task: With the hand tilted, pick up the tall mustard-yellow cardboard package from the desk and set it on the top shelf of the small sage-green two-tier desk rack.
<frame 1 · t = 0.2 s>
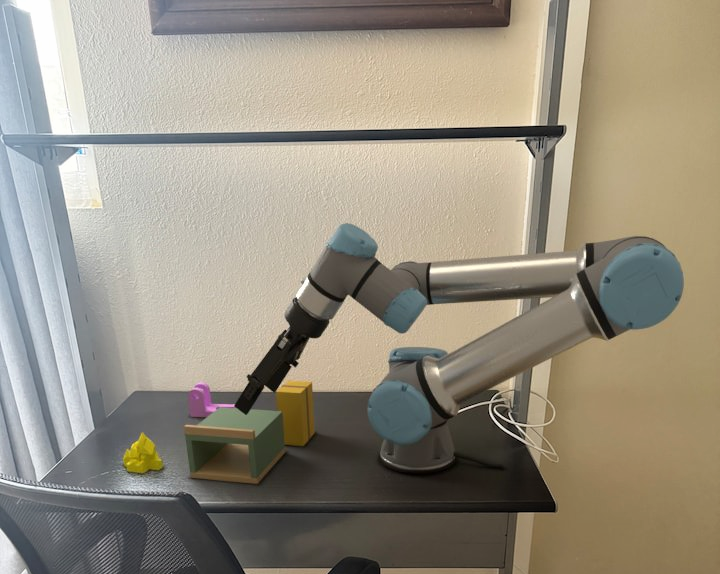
hand: (255, 398, 132), 15 cm above the table, tool tilted 35°, fingers open, 13 cm apart
desk rack: (239, 464, 143), on the table
bracket: (220, 414, 171), on the table
package: (297, 438, 155), on the table
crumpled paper: (143, 467, 143), on the table
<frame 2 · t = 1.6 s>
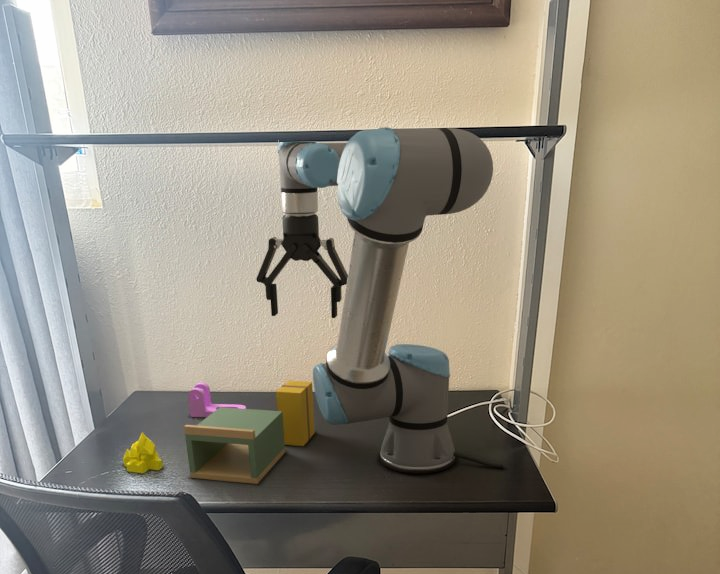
hand: (304, 315, 155), 25 cm above the table, tool pointing down, fingers open, 13 cm apart
nothing on the table moved.
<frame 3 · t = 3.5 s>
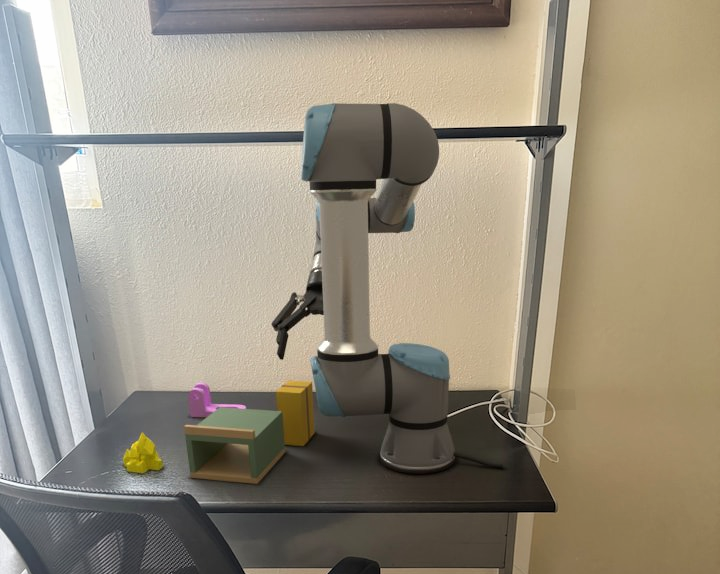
hand: (308, 358, 158), 15 cm above the table, tool tilted 45°, fingers open, 13 cm apart
nothing on the table moved.
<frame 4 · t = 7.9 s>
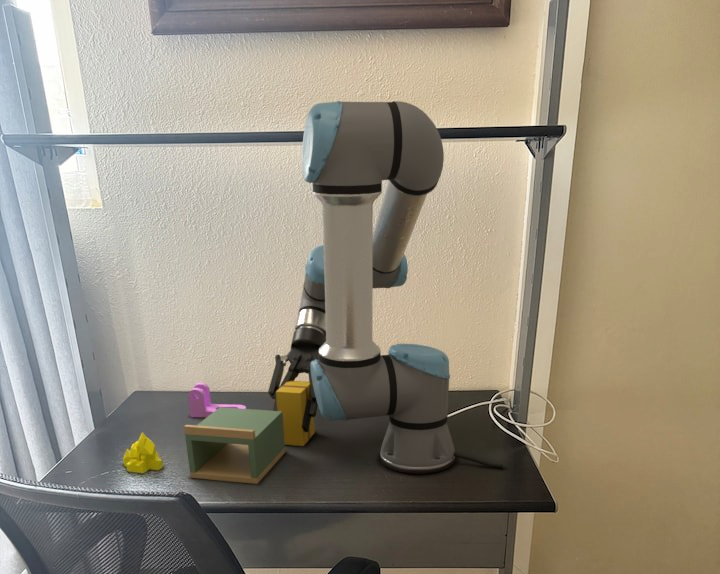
hand: (291, 428, 151), 4 cm above the table, tool tilted 45°, fingers closed on package, 6 cm apart
package: (297, 438, 155), on the table, touching gripper
everything else where it was.
when the fingers open (13 cm above the table, at t = 14.8 s): package stays where it is, resting on desk rack.
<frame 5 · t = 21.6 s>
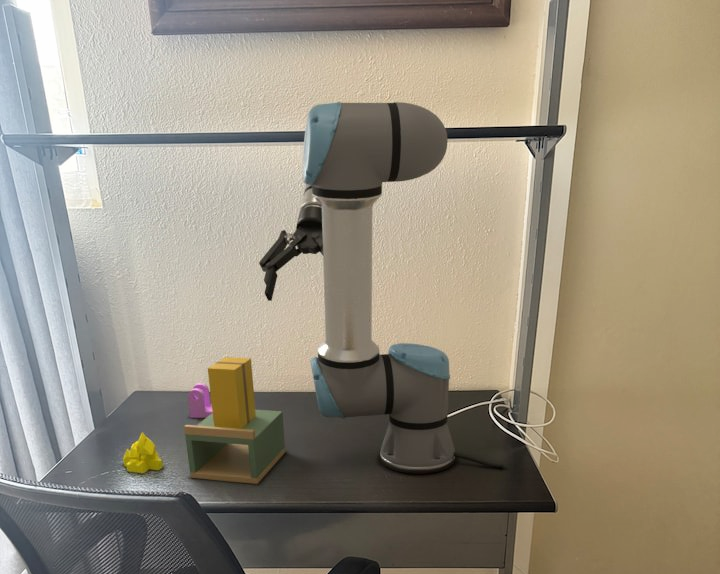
hand: (298, 298, 148), 30 cm above the table, tool tilted 45°, fingers open, 13 cm apart
package: (235, 422, 139), point 9 cm above the table, touching desk rack
everything else where it was.
at the end: package inside the target area on the desk rack (0.1 cm from its centre), point 9.2 cm above the desk rack's base; package tilted 0°; the gripper is holding nothing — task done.
